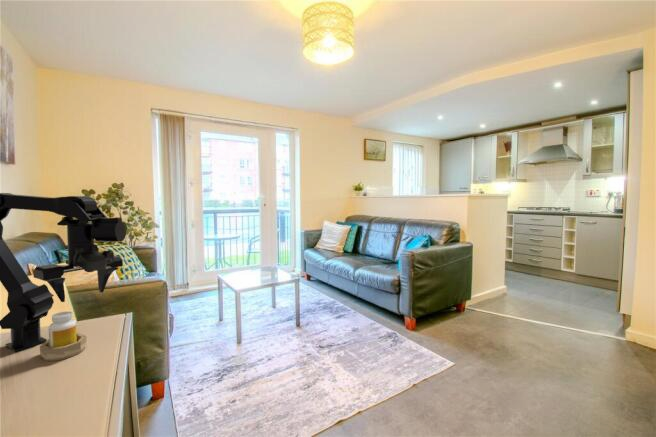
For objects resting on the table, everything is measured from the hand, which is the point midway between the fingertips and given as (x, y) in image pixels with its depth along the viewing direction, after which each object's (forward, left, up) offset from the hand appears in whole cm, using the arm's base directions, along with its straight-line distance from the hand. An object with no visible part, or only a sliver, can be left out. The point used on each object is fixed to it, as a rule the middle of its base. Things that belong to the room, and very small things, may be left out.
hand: (83, 296), depth 83 cm
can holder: (+2, -5, -13) cm, 14 cm away
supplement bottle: (+2, -5, -13) cm, 14 cm away
